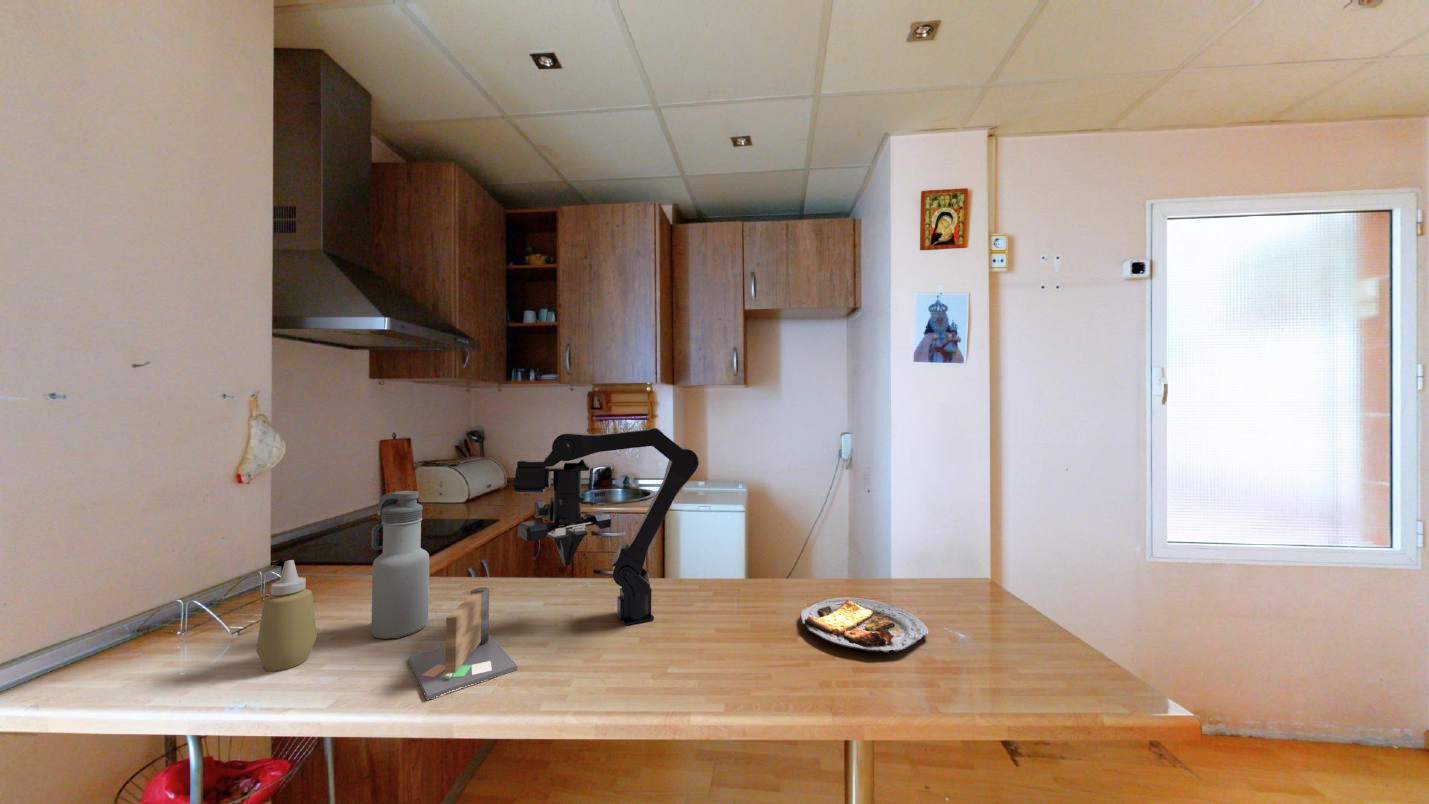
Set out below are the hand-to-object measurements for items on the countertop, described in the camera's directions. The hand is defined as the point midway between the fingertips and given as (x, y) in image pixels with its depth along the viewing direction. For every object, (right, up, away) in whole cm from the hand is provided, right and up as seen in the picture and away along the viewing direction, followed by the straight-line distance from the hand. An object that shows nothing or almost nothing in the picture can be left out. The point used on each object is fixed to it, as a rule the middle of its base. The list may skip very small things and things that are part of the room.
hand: (566, 565), depth 102 cm
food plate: (+62, -13, -3) cm, 63 cm away
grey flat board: (-13, -12, -17) cm, 25 cm away
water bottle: (-33, -12, -3) cm, 35 cm away
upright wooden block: (-13, -10, -16) cm, 23 cm away
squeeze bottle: (-44, -12, -17) cm, 49 cm away
